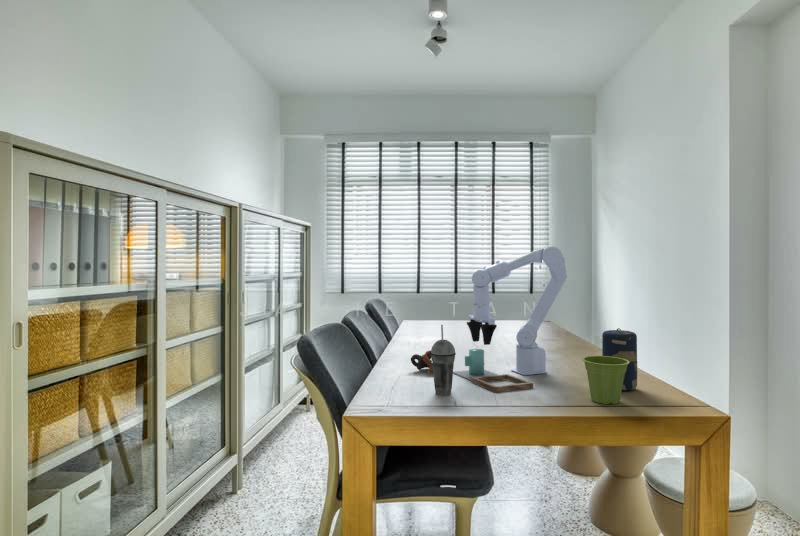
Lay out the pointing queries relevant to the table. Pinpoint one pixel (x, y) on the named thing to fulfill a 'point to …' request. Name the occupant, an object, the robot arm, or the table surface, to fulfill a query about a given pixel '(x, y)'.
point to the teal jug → (475, 362)
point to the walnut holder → (520, 385)
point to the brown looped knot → (423, 361)
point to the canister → (622, 353)
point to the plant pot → (605, 377)
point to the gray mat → (469, 377)
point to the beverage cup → (443, 365)
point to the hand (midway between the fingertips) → (481, 342)
